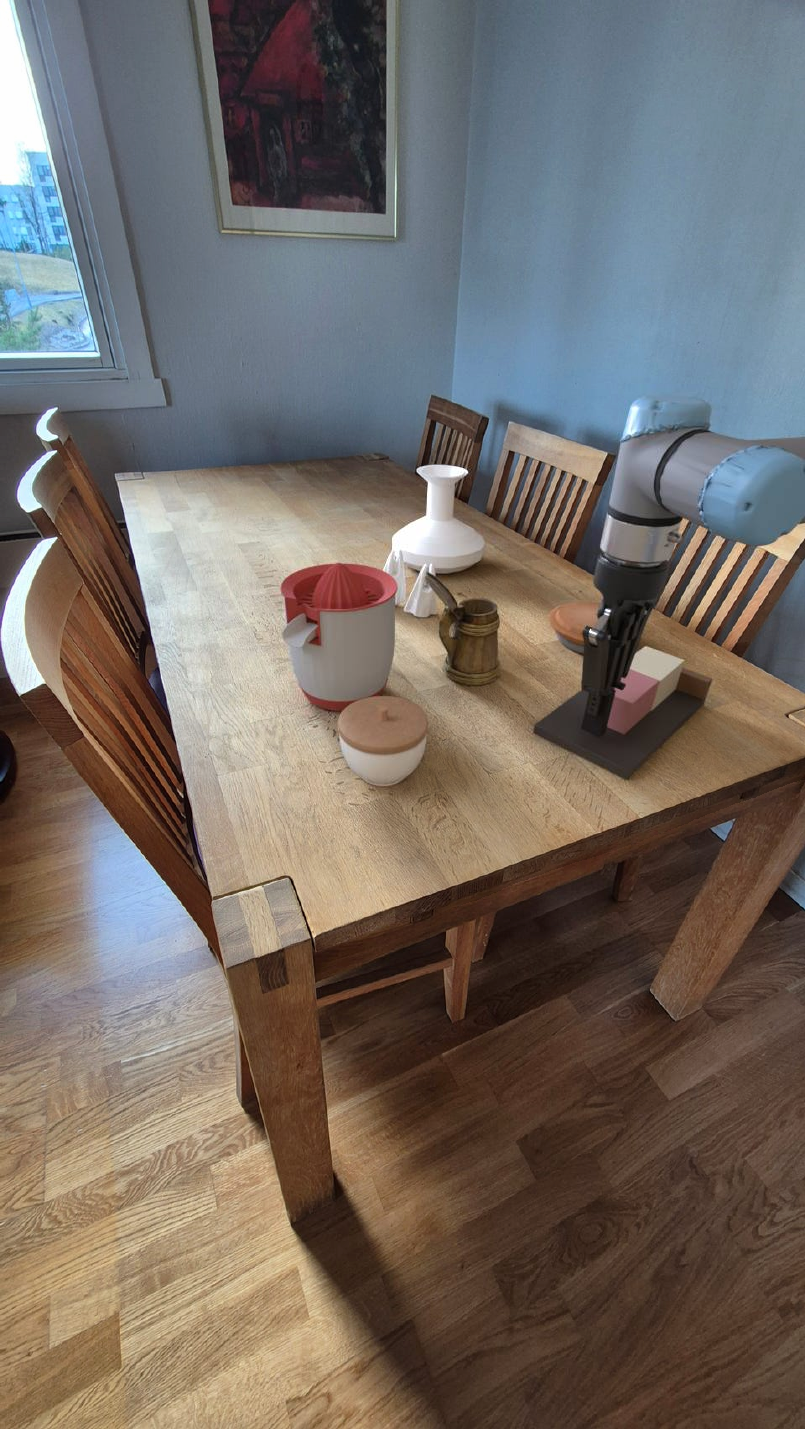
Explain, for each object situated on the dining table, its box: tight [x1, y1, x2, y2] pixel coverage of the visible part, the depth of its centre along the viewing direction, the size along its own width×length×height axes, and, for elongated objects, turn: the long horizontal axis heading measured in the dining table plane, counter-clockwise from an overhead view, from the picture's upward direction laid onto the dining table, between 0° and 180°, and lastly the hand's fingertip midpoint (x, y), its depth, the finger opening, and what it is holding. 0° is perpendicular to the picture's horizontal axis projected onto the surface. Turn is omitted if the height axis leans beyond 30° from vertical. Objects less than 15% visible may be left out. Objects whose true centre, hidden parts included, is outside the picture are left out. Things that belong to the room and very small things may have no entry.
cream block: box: [630, 645, 686, 711], centre depth 91 cm, size 6×8×5 cm
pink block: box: [607, 669, 659, 734], centre depth 86 cm, size 6×8×5 cm
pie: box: [548, 600, 601, 655], centre depth 107 cm, size 15×16×5 cm
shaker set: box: [382, 549, 438, 618], centre depth 114 cm, size 12×4×11 cm, turn 60°
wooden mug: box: [425, 572, 501, 687], centre depth 93 cm, size 9×14×18 cm, turn 118°
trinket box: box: [337, 695, 429, 787], centre depth 76 cm, size 11×11×9 cm
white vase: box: [392, 464, 486, 574], centre depth 131 cm, size 20×20×19 cm
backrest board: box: [532, 650, 713, 781], centre depth 88 cm, size 14×24×4 cm, turn 137°
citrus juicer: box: [279, 562, 398, 712], centre depth 87 cm, size 16×17×20 cm
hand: (593, 730), depth 81 cm, fingers closed
